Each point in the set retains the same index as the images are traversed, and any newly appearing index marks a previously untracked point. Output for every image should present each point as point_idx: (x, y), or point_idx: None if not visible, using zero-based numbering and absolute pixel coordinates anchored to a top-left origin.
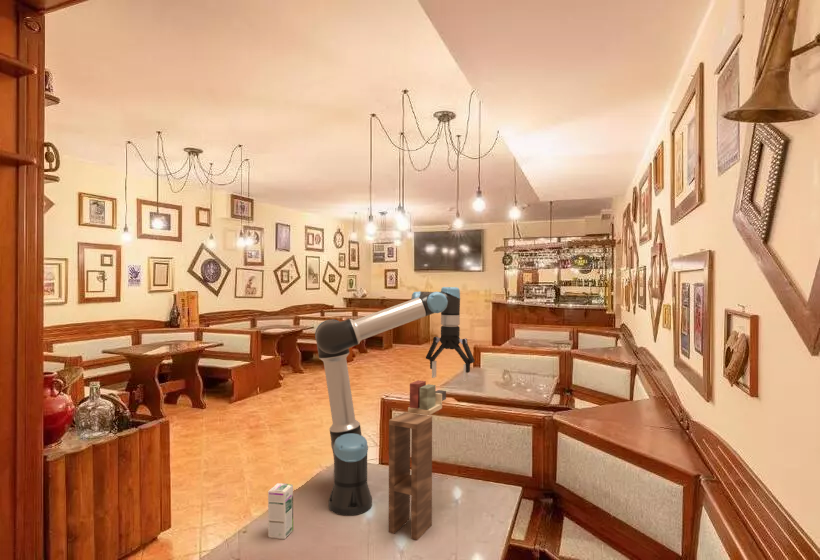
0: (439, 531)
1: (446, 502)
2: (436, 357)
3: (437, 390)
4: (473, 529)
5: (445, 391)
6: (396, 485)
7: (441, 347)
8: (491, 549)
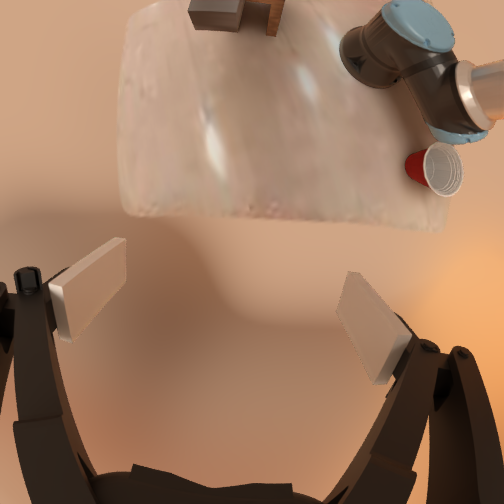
0: None
1: (223, 103)
2: (384, 403)
3: (238, 2)
4: (164, 44)
5: (189, 6)
6: None
7: (375, 483)
8: (137, 17)
